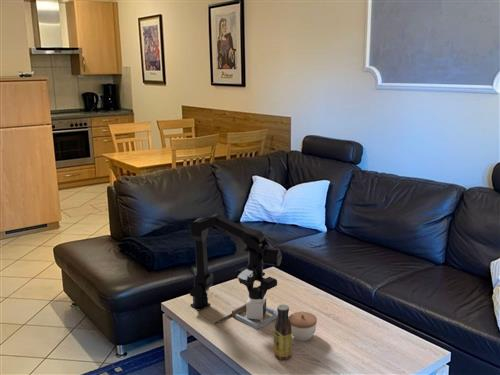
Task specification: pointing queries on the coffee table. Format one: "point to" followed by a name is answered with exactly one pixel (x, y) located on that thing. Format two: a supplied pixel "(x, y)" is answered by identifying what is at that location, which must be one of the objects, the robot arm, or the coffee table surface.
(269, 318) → the grey angle bracket
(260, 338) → the coffee table surface
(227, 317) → the rail
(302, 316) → the lidded jar
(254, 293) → the medicine bottle
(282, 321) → the sauce bottle
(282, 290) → the coffee table surface
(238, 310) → the wooden plank
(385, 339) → the coffee table surface
